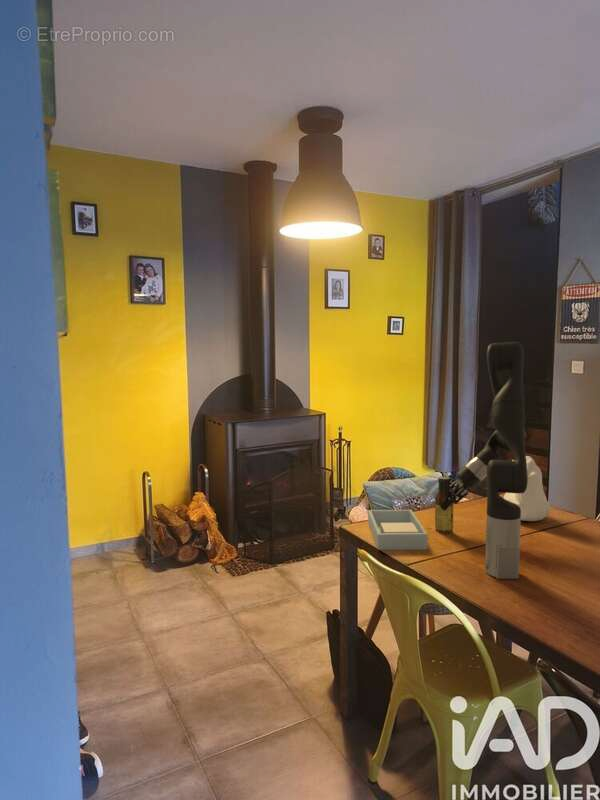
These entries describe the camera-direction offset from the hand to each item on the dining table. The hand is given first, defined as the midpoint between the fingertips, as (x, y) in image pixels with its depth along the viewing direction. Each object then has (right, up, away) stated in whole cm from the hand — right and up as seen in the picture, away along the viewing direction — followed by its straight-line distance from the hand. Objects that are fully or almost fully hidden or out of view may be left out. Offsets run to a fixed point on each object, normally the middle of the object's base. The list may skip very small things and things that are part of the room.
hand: (439, 505), depth 189 cm
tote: (-16, -10, -4) cm, 20 cm away
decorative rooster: (+38, -8, +19) cm, 43 cm away
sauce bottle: (+2, -10, +1) cm, 10 cm away
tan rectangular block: (-16, -10, -10) cm, 22 cm away
